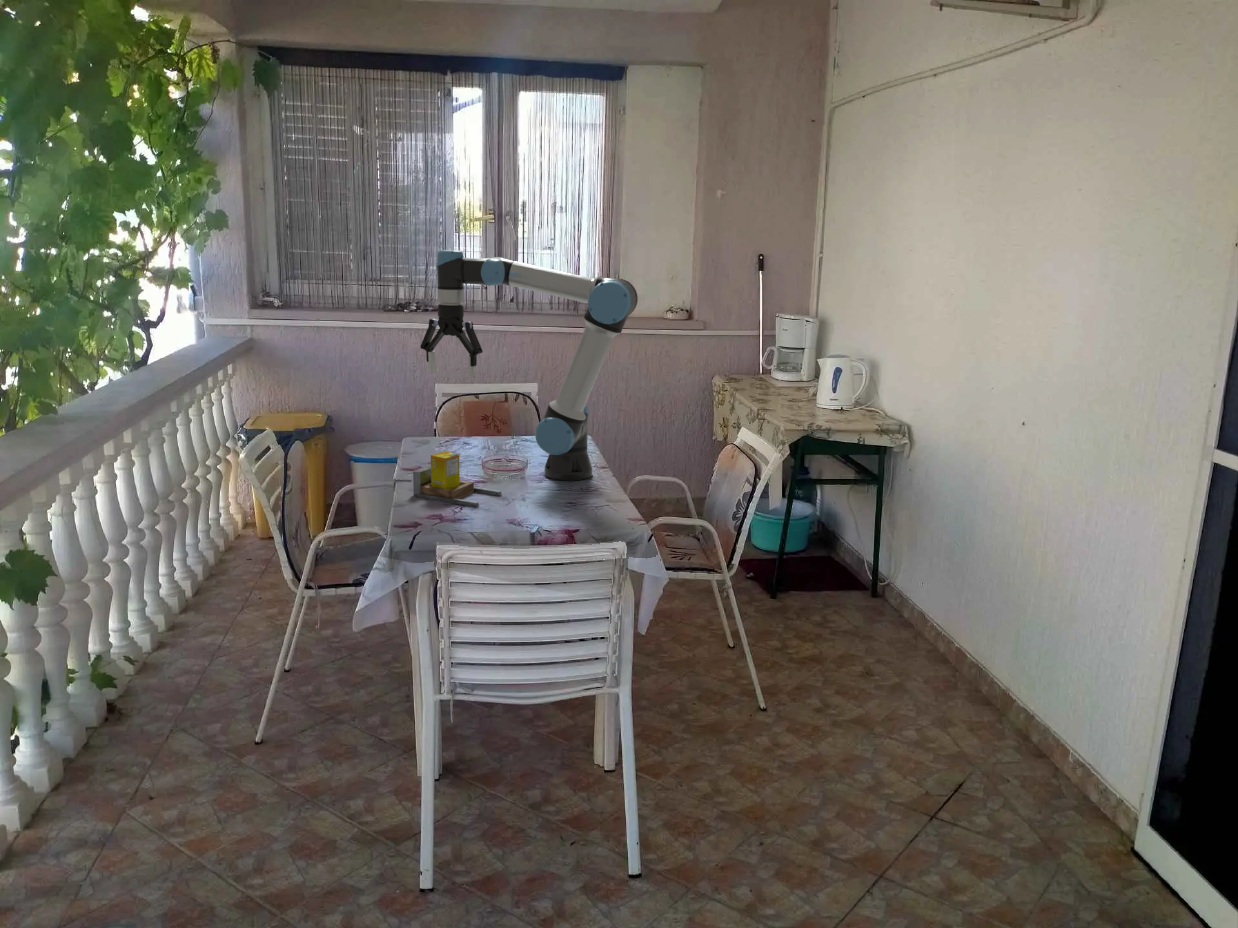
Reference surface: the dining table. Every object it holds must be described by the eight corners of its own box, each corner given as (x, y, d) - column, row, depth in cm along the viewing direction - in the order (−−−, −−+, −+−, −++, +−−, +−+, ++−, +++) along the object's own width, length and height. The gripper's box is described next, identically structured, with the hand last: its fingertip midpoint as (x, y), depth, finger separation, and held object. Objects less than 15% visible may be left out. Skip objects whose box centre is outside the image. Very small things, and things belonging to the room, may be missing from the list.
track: (501, 495, 270) (501, 471, 268) (476, 507, 257) (476, 483, 256) (436, 485, 278) (436, 462, 276) (409, 496, 265) (409, 472, 264)
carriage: (473, 492, 271) (473, 482, 271) (453, 501, 262) (453, 491, 261) (441, 487, 276) (441, 477, 275) (420, 496, 266) (420, 486, 265)
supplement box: (445, 487, 272) (444, 450, 269) (460, 490, 269) (459, 454, 266) (430, 491, 267) (429, 454, 265) (445, 495, 264) (445, 458, 261)
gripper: (493, 305, 273) (494, 377, 278) (422, 300, 282) (423, 369, 287) (480, 307, 266) (481, 380, 271) (407, 302, 275) (409, 373, 280)
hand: (451, 375), depth 279 cm, fingers open, 13 cm apart
